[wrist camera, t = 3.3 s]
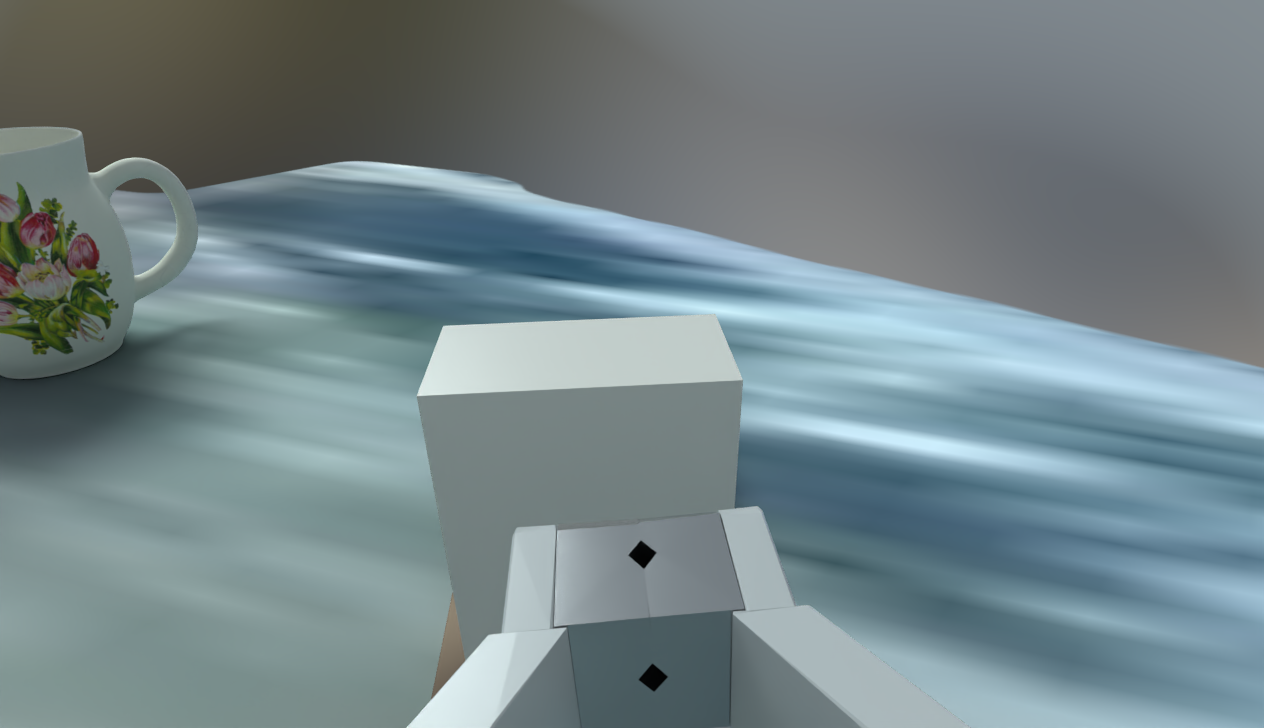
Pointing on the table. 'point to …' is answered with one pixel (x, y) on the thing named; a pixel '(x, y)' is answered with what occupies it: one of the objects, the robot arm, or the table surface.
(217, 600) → the table surface
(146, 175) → the pitcher
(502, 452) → the fader tab
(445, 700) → the robot arm
